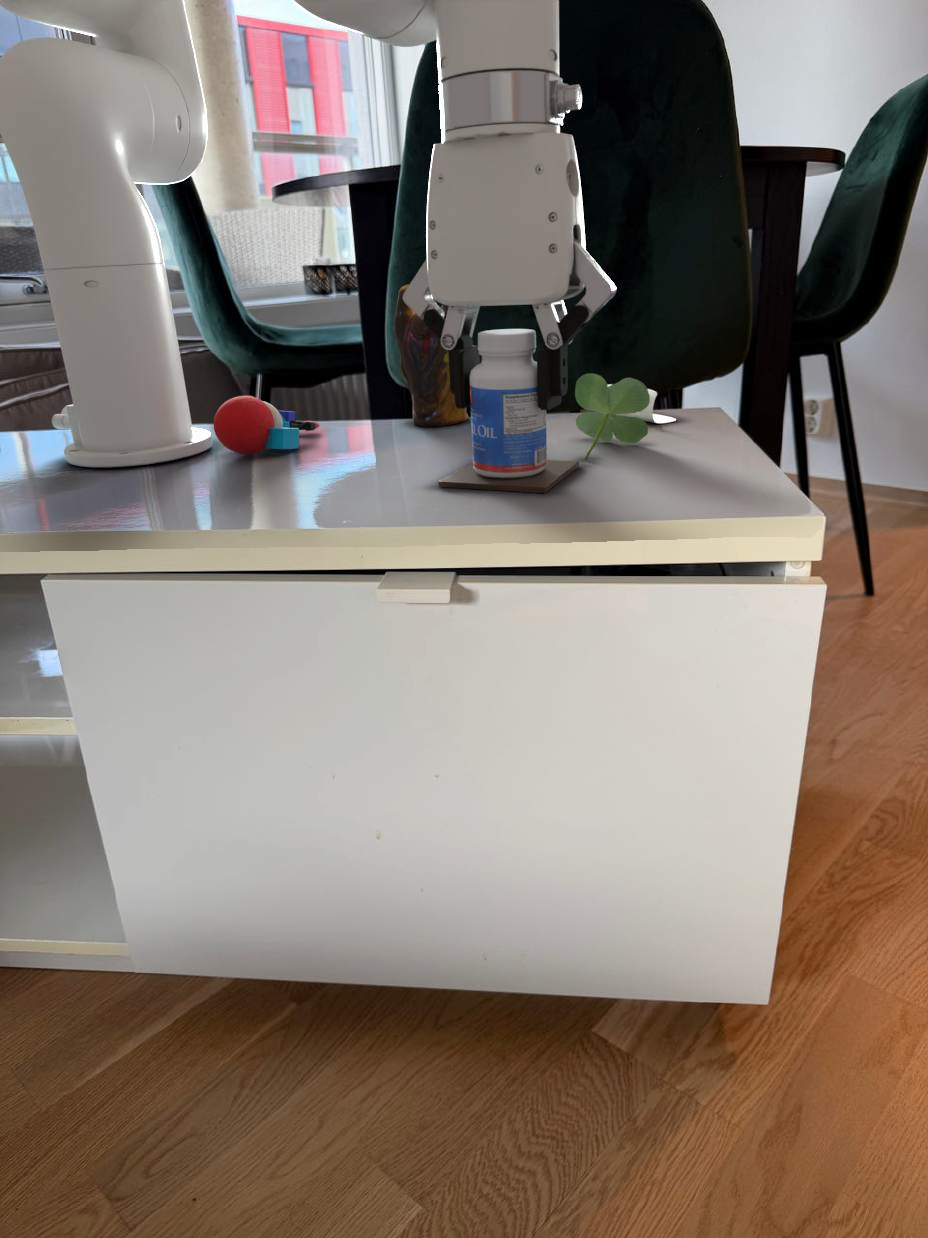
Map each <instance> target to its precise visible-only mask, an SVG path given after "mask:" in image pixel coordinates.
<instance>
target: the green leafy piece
mask: <svg viewBox="0 0 928 1238" xmlns="http://www.w3.org/2000/svg"><path fill="white" fill-rule="evenodd" d="M611 384H612V385H611V386H609V387H607V385H608V383H607V381H606V379H605V378H603V376H602V375H599V374H598V373H597V374H596V373H594V372H593V373H592V372H591V373H584V374H583V375H581V376H580V377H578V379H577V380H576V382H575V390H574V396H575V400H576V403H577V404H578V405H579V406H580V408H583V409H584V410H587V411H585V412H582V413H580V414H578V415H577V416H576V417H575V425H576V427H577V429H578V430H579V431H581V432H582V433H583V434H585V435H587V436H589V437H590V438H592V439H594V440H593V442H592V443H591V445H590V448H589V449H588V451H587V452H586V454H585V456H584V460H585V461H587V460H588V459H589V456H590V455H591V453H592V451H593V449H594V448H595V446H596V444H597V442H598V440H602V441H604V442H610V441H612V440H613V439H614V438H613V437H615V439H617V440H618V441H619V442H621V443H624V444H636V443H639V442H640V441H641V440H643V439H644V438H645V437H647V435H648V433H649V427H648V424H647V422H646V421H643V420H641V419H639V418H636V417H628V416H619V415H616V414H628V413H636V412H640V411H642V410H644V409H645V408H646V407H647V406H648V405H649V402H650V401H649V400H650V398H649V397H650V395H649V393H648V390H647V389H648V388H647V386H646V385H645V384H644V383H643V382H642V381H641V380H639V379H636V378H634V377H633V378H632V377H624V378H622V379H621V380H620V381H618V382H615V383H611Z"/></svg>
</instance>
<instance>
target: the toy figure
mask: <svg viewBox="0 0 928 1238" xmlns="http://www.w3.org/2000/svg"><path fill="white" fill-rule="evenodd" d="M318 428H320V423H318V422H316V421H313V420H297V417H296V411H291V410H279V409H277V408H276V407H275V406H274V405H272V404H271V403H269V402H267V401H263V400H262V399H260V398H257V397H255V396H252V395H239V396H235V397H232V398H229V399H228V400H226V401H225V402H223V403H222V404H221V405H220V406H219V408H218V409H217V411H216V413H215V414H214V418H213V431H214V434H215V436H216V439H218V441H219V443H220V444H222V446H224V448H226V449H228V450H229V451H230V452H231V451H232V452H234V453H236V454H240V455H255V454H259V453H261V452H262V451H264V450H266V449H275V450H291V449H292V450H293V449H300V431H306V432H312V431H315V430H316V429H318Z"/></svg>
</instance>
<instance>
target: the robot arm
mask: <svg viewBox="0 0 928 1238" xmlns="http://www.w3.org/2000/svg"><path fill="white" fill-rule="evenodd" d="M291 2H293V3H294V4H295V5H296V6H297V7H299V8H300V9H301V10H302V11H303V12H305V13H306V14H308V15H310V16H312V17H313V18H315V19H317V20H320V21H322V22H325V23H328V24H331V25H335V26H337V27H340V28H344V29H346V30H349V31H352V32H355V33H359V34H360V35H362V36H364V37H367V38H370V39H373V40H376V41H379V42H381V43H382V44H383V43H384V44H387V45H390V46H394V47H401V48H413V47H419V46H423V45H426V44H429V43H432V42H435V41H436V53H437V54H436V55H437V71H438V72H437V73H438V84H439V85H438V91H439V92H438V94H439V110H440V129H441V132H440V133H441V142H439V143H434V144H433V148H432V153H431V161H430V168H429V176H428V177H429V178H428V187H427V188H428V189H427V201H426V202H427V203H426V236H425V237H426V259H425V260H424V261H423V263H422V265H420V268H419V269H418V271H417V272H416V274H415V275H414V277H413V278H412V280H411V281H410V283H409V284H408V285H409V286H408V288H407V289H406V291H405V292H404V294H403V301H404V302H405V304H406V305H407V306H408V307H409V308H410V309H412V310H413V312H414V313H416V314H417V315H418V316H419V317H420V318H422V319H423V320H424V323H425V324H426V326H427V327H428V328H429V329H430V330H431V331H432V332H433V333H434V334H435V335H436V336H437V337H438V338H439V339H440V341H441V345H442V347H443V348H444V349H446V350H448V355H449V374H450V389H451V393H452V394H455V405H456V408H466V407H467V408H468V407H471V403H470V372H471V370H472V369H473V368H474V367H475V366H476V365H478V364H480V363H481V362H480V354H479V351H478V345H474V344H473V335H474V330H475V327H476V324H477V320H478V315H479V312H480V308H481V307H487V306H488V307H489V306H490V307H491V306H493V307H494V306H521V305H531V306H532V310H533V312H534V316H535V317H536V321H537V324H538V326H539V330H540V332H541V336H542V339H543V340H542V348H541V349H539V350H538V351H537V353H536V362H537V383H538V408H541V410H546V411H550V410H553V409H554V408H556V407H558V406H559V405H561V403H562V397H564V396H565V395H567V392H568V345H570V344H572V342H573V341H574V339H575V338H576V336H578V334H579V333H580V332H581V331H582V330H583V329H584V328H585V327H586V326H587V325H588V324H589V322H590V321H591V320H592V318H593V317H594V316H595V315H596V314H597V313H599V312H600V311H601V310H602V309H603V307H605V306H606V305H607V304H608V303H609V302H610V300H612V299H613V298H614V297H615V296H616V294H617V286H616V285H615V283H614V282H613V281H612V280H611V278H610V277H609V276H608V275H607V274H606V272H605V271H604V270H603V269H602V268H601V266H600V265H599V264H598V262H596V260H595V259H594V258H593V257H592V256H591V255H590V253H589V252H588V251H587V250H586V249H587V248H586V233H585V219H584V205H583V194H582V186H581V176H580V169H579V162H578V155H577V150H576V145H575V140H574V136H573V134H569V133H564V132H561V127H560V126H563V125H564V118H565V114H566V115H567V114H569V113H570V112H571V111H579V110H580V109H581V108H582V103H583V94H582V88H581V85H580V84H572V85H571V84H570V85H569V84H568V83H564V82H563V80H564V79H563V77H560V0H291ZM0 6H1V7H2V8H3V9H5V10H6V11H8V12H10V13H12V14H14V15H15V16H18V17H21V18H23V19H26V20H28V21H32V22H35V23H38V24H41V25H46V26H49V27H53V28H57V29H62V30H66V31H70V32H75V33H80V34H82V35H83V34H84V35H87V36H92V37H93V38H94V40H95V44H96V45H94V44H90V43H86V42H81V41H76V40H73V39H68V38H61V37H49V36H47V37H33V38H29V39H26V40H22V41H19V42H17V43H16V44H14V45H12V46H11V47H9V48H8V49H7V50H5V52H4V53H3V54H2V55H1V57H0V136H1V138H2V141H3V144H4V147H5V148H6V151H7V153H8V156H9V158H10V160H11V163H12V165H13V168H14V171H15V173H16V175H17V178H18V181H19V183H20V186H21V189H22V193H23V195H24V198H25V201H26V204H27V207H28V212H29V214H30V220H31V222H32V227H33V230H34V234H35V239H36V242H37V247H38V251H39V256H40V261H41V265H42V269H43V273H44V277H45V281H46V286H47V290H48V291H47V292H48V295H49V300H50V305H51V309H52V314H53V317H54V318H53V319H54V322H55V323H54V324H55V327H56V331H57V337H58V341H59V346H60V350H61V355H62V360H63V364H64V368H65V374H66V378H67V383H68V387H69V392H70V397H71V400H72V404H68V405H65V406H64V407H63V408H62V409H61V412H60V413H55V414H53V415H52V418H51V425H52V427H53V428H55V429H57V430H70V432H71V437H72V440H73V442H71V443H70V444H68V445H66V446H65V447H64V449H63V453H64V458H65V462H67V463H68V464H70V465H72V466H77V467H83V468H123V467H135V466H136V467H137V466H143V465H153V464H158V463H164V462H170V461H175V460H180V459H183V458H184V459H185V458H188V457H192V456H194V455H198V454H200V453H204V452H205V451H207V450H209V449H210V448H211V447H212V446H213V445H214V444H213V438H212V437H213V436H212V433H211V432H210V431H209V430H207V429H203V428H199V427H193V424H192V418H191V412H190V411H191V410H190V405H189V399H188V394H187V388H186V387H187V386H186V381H185V376H184V369H183V365H182V357H181V351H180V347H179V340H178V333H177V328H176V322H175V317H174V310H173V305H172V298H171V293H170V287H169V280H168V275H167V269H166V263H165V259H164V252H163V246H162V243H161V238H160V235H159V231H158V228H157V224H156V223H155V220H154V218H153V215H152V213H151V211H150V209H149V207H148V204H147V203H146V201H145V199H144V197H143V196H142V195H141V193H140V190H139V189H138V186H137V185H136V184H142V185H143V184H144V185H171V184H177V183H180V182H183V181H185V180H186V179H188V178H189V177H191V176H192V175H193V174H194V173H195V172H197V170H198V168H199V167H200V165H201V163H202V161H203V159H204V156H205V153H206V149H207V142H208V117H207V107H206V102H205V96H204V92H203V91H204V90H203V87H202V81H201V76H200V73H199V72H200V71H199V67H198V62H197V57H196V52H195V47H194V43H193V38H192V33H191V28H190V24H189V19H188V14H187V10H186V9H187V8H186V4H185V0H0ZM584 288H585V294H584V296H583V297H582V298H581V299H580V300H579V301H578V302H577V303H576V304H575V305H574V306H572V307H571V308H570V309H569V310H568V311H567V308H566V306H565V302H564V300H568V299H571V298H573V297H576V296H578V295H580V294H581V293H582V292H583V291H584ZM437 303H440V304H441V305H442V304H444V305H448V306H449V307H448V311H446V310H445V309H444V308H442V307H441V306H440V305H438V304H437ZM467 408H466V409H467Z"/></svg>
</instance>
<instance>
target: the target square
mask: <svg viewBox="0 0 928 1238" xmlns="http://www.w3.org/2000/svg"><path fill="white" fill-rule="evenodd" d="M579 467H580V461H578V460H577V461H576V460H558V459H557V460H556V459H546V467H545V469H544V470H543V471H542V472H540V473H538V474H536V475H532V476H528V477H520V478H492V477H485V476H482V475H480V474H478V473H476V472H475V470H474V467H473V461H472V462H470V463H467V465H465V466H463V467H461V468H459V469H458V470H456V471H453V472H452V473H451V474H449V475H448V476H445V477H444V478H441V479H440V480H439V481H438V482H437V483H438V487H439V488H453V489H470V490H471V489H472V490H485V491H486V490H487V491H504V492H505V491H506V492H521V493H535V494H546V493H548V492H549V490H551V489H552V488H553V487H555V486H556V485H557V484H559V483H560V482H562V480H564V479H565V478H566V477H568V476H569V475H571V473H573V472H574V471H575V470H577V469H578V468H579Z"/></svg>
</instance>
